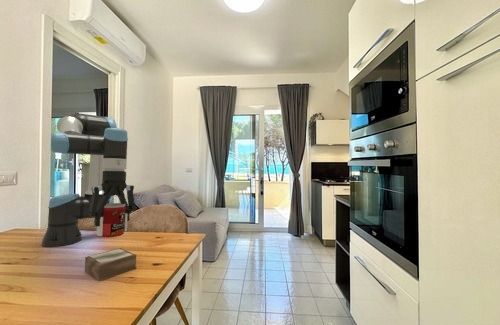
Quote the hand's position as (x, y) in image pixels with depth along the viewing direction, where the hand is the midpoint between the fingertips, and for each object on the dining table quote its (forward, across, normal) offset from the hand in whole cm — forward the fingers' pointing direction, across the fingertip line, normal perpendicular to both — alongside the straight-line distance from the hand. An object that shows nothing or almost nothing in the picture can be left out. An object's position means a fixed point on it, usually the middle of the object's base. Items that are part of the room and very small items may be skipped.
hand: (112, 232), depth 82 cm
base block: (+13, 0, 0) cm, 13 cm away
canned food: (+1, 0, 0) cm, 1 cm away
